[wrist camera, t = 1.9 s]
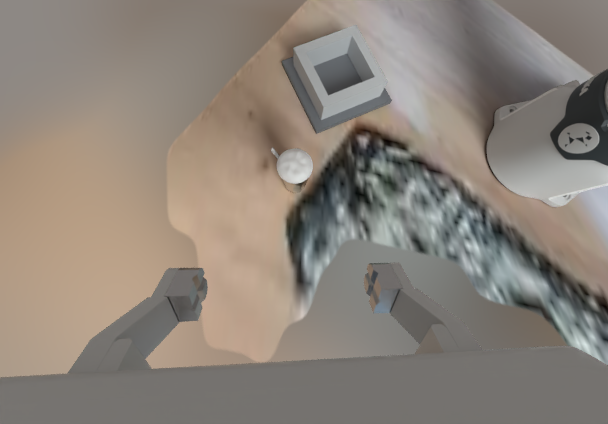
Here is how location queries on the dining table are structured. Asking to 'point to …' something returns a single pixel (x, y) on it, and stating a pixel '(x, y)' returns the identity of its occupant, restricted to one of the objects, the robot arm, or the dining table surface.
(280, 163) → the milkshake
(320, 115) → the sleeve housing
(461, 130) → the dining table surface
